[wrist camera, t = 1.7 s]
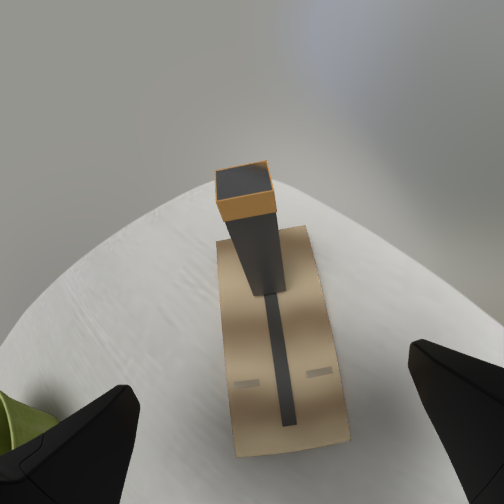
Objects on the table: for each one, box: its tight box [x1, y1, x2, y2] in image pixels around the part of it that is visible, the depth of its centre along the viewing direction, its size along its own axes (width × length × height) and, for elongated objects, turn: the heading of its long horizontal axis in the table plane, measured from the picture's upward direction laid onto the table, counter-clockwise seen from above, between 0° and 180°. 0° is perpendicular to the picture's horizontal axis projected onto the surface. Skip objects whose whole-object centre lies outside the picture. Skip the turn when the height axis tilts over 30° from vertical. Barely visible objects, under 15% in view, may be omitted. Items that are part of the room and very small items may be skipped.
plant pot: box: [0, 391, 59, 455], centre depth 16 cm, size 9×9×9 cm
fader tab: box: [215, 161, 286, 296], centre depth 18 cm, size 2×3×11 cm
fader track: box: [216, 225, 351, 457], centre depth 22 cm, size 18×8×2 cm, turn 6°
